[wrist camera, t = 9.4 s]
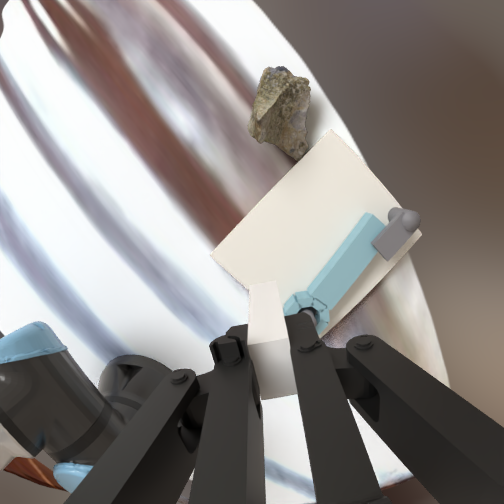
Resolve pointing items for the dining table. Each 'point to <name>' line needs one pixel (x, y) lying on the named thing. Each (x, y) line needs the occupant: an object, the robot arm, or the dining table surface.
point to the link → (338, 272)
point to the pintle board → (317, 227)
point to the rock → (281, 111)
